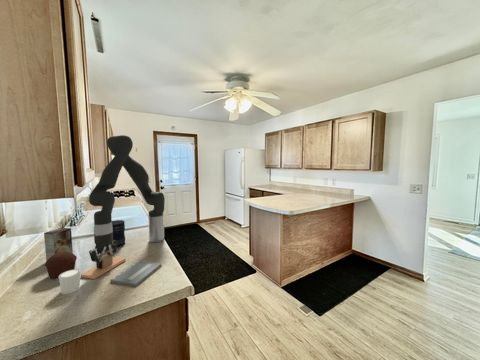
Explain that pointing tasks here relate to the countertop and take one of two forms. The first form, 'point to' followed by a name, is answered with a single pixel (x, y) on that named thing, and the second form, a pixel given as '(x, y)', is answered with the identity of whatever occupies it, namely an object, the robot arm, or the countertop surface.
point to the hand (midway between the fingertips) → (104, 265)
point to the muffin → (60, 264)
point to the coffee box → (58, 241)
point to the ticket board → (136, 273)
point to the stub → (103, 266)
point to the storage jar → (118, 232)
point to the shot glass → (69, 281)
